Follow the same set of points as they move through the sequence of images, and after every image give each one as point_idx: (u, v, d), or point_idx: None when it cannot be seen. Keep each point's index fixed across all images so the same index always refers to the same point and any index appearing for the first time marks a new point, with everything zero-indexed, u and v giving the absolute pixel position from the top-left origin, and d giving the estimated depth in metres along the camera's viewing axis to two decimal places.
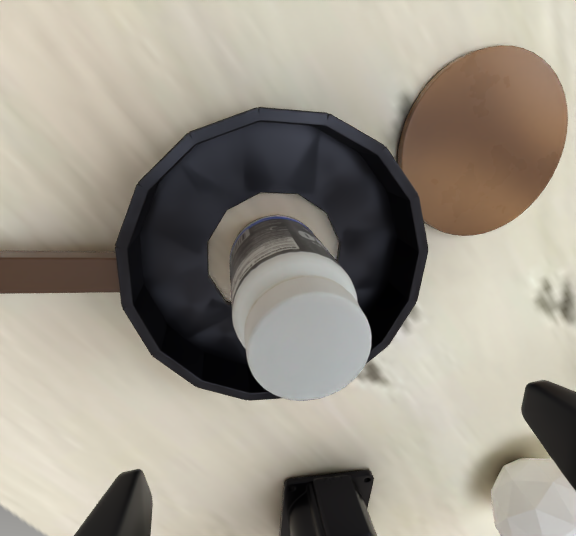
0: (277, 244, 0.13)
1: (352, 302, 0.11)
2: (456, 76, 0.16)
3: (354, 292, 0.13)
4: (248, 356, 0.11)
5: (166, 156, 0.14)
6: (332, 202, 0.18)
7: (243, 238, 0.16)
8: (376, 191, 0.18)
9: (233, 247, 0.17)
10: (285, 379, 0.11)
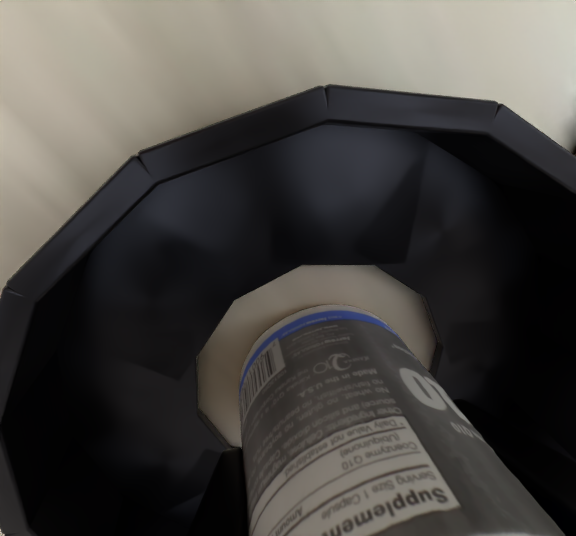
0: (380, 465, 0.05)
1: None
2: None
3: None
4: None
5: (77, 216, 0.05)
6: (437, 278, 0.09)
7: (270, 369, 0.08)
8: (519, 256, 0.09)
9: (247, 373, 0.09)
10: None
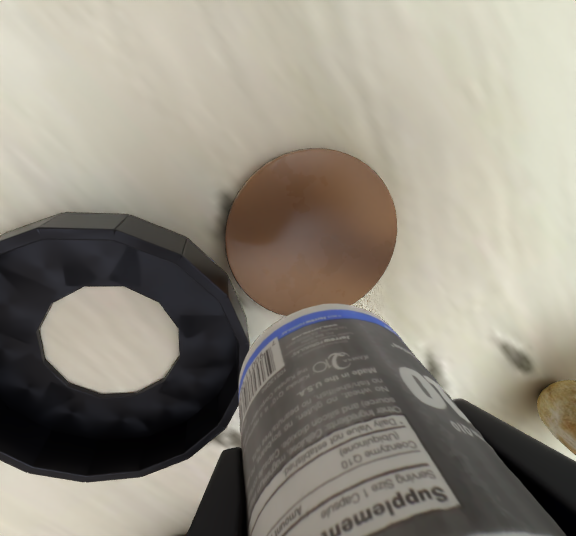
0: (380, 463, 0.05)
1: None
2: (269, 178, 0.17)
3: None
4: None
5: None
6: (162, 292, 0.18)
7: (269, 368, 0.08)
8: None
9: (246, 373, 0.09)
10: None
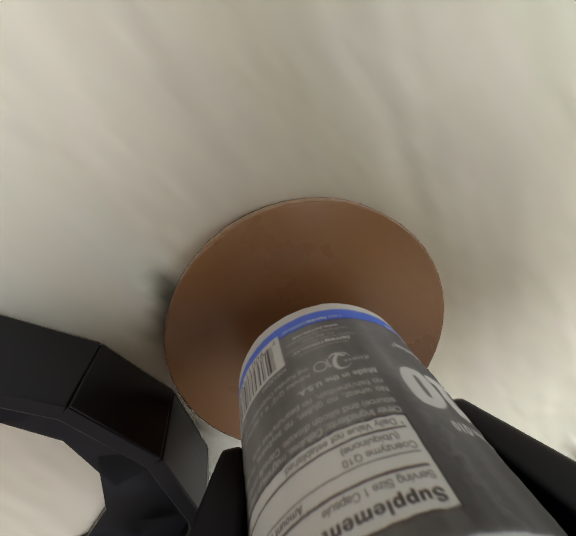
0: (381, 463, 0.05)
1: None
2: (234, 250, 0.10)
3: None
4: None
5: None
6: (66, 427, 0.11)
7: (270, 368, 0.08)
8: None
9: (247, 372, 0.09)
10: None
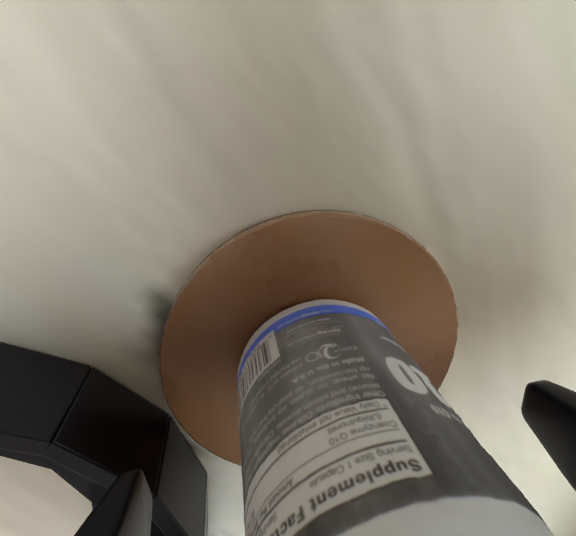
0: (363, 440, 0.05)
1: None
2: (235, 268, 0.09)
3: None
4: None
5: None
6: None
7: (266, 359, 0.08)
8: None
9: (245, 364, 0.09)
10: None
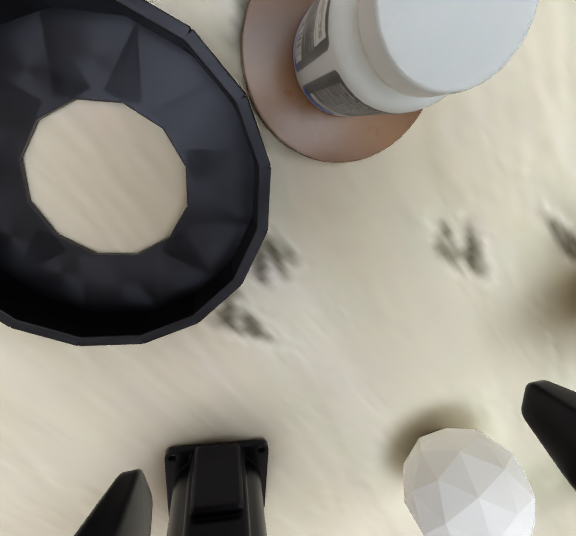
0: None
1: None
2: None
3: None
4: None
5: None
6: (167, 115, 0.15)
7: None
8: (219, 103, 0.16)
9: (301, 22, 0.14)
10: (421, 44, 0.08)
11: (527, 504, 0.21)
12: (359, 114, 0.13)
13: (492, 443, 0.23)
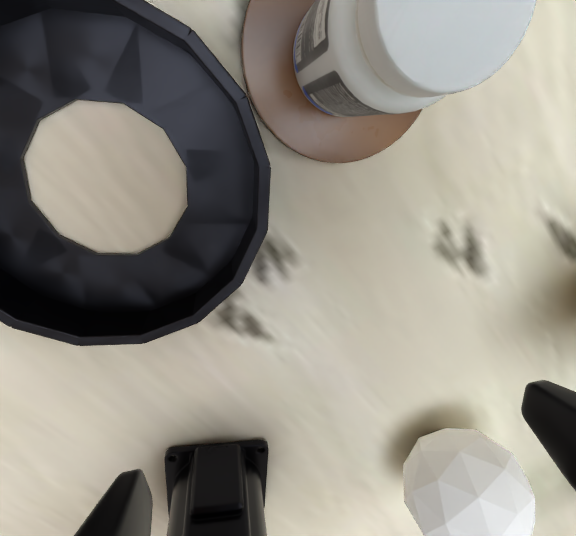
0: None
1: None
2: None
3: None
4: None
5: None
6: (167, 115, 0.15)
7: None
8: (219, 104, 0.16)
9: (301, 23, 0.14)
10: (420, 44, 0.08)
11: (527, 504, 0.21)
12: (359, 114, 0.13)
13: (492, 443, 0.23)
